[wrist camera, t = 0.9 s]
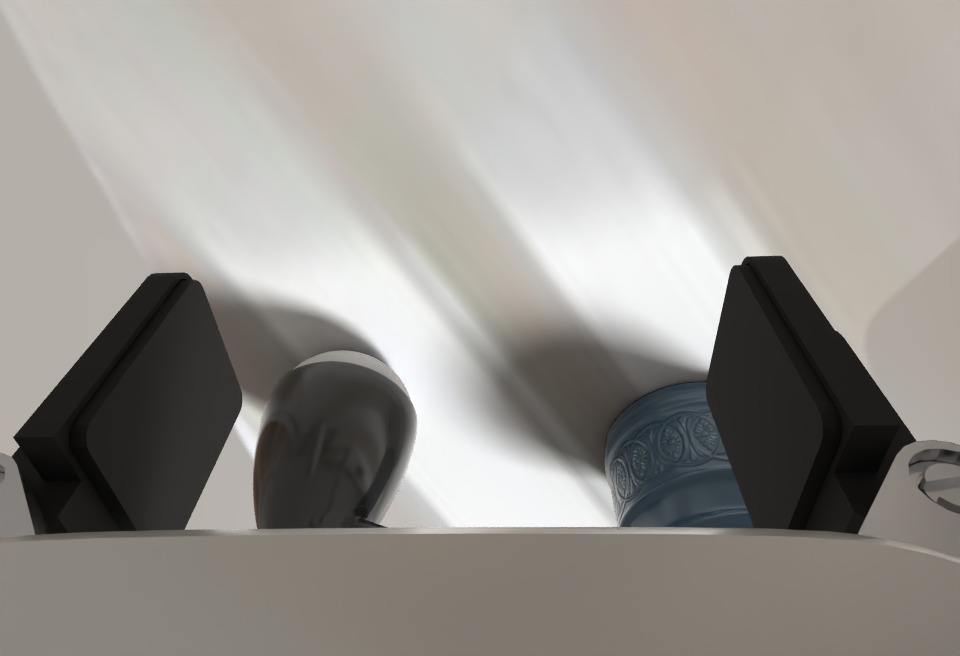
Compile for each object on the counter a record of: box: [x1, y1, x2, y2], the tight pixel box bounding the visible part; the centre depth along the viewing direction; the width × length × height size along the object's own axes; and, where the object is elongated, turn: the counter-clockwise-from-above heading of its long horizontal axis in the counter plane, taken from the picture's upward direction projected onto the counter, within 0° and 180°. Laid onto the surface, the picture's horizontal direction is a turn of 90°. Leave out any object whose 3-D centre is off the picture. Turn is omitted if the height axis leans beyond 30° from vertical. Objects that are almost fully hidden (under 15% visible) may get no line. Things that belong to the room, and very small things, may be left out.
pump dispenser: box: [253, 350, 417, 529], centre depth 40 cm, size 10×10×15 cm
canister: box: [604, 382, 754, 528], centre depth 42 cm, size 13×13×18 cm
